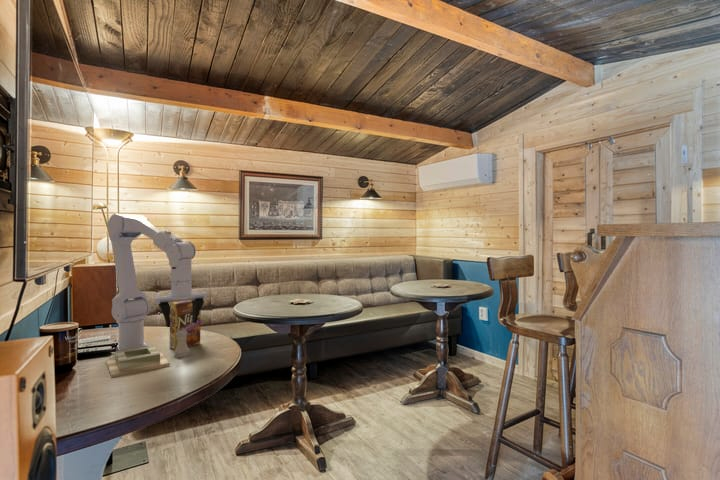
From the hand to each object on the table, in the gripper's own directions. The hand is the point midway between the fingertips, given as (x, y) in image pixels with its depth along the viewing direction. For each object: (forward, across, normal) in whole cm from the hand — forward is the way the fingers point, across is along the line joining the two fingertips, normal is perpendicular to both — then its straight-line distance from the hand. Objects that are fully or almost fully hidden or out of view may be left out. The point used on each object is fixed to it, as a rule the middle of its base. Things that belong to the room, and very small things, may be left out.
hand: (181, 324), depth 116 cm
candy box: (+10, +3, +10) cm, 14 cm away
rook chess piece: (+10, 0, 0) cm, 10 cm away
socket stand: (+10, -12, 0) cm, 15 cm away
